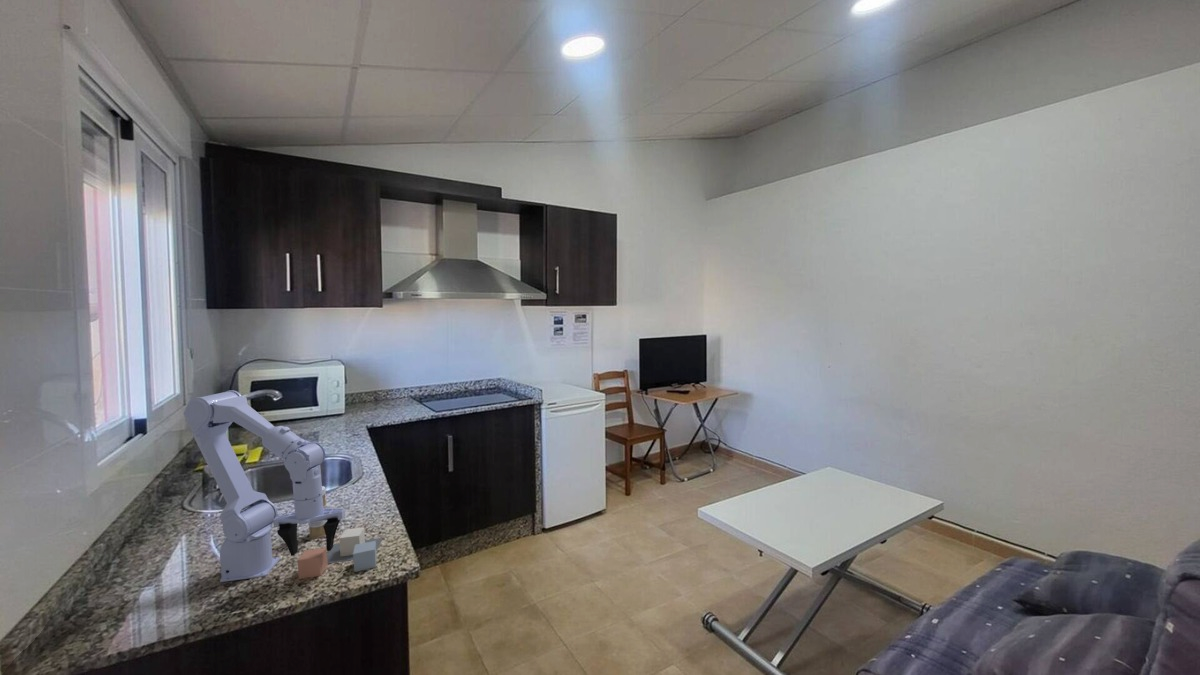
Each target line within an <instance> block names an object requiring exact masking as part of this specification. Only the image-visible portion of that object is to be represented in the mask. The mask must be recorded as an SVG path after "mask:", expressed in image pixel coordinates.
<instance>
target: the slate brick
mask: <svg viewBox="0 0 1200 675" xmlns="http://www.w3.org/2000/svg"><path fill="white" fill-rule="evenodd" d="M377 556H378V555H377V551H376V541H372V542H367V543H362V544H357V545H355V547H354V552H353V560H352V561H353V572H359V571H364V570H369V569H374V568H377V558H378V557H377Z"/></svg>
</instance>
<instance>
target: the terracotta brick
mask: <svg viewBox="0 0 1200 675" xmlns="http://www.w3.org/2000/svg"><path fill="white" fill-rule="evenodd" d="M327 554H328V551H327V547H323V548H322V547H321V548H314V549H306V550H304V551H303V553H302V554H301V555H300V556H299V558H298V559H297V570H298V571H297V572H298V574H297V575H298V579H299V580H300V579H307V578H313V577H314V578H315V577H322V574H323V573H324V571H325V570H326V568H327V567H328V564H327Z"/></svg>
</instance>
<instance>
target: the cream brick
mask: <svg viewBox="0 0 1200 675" xmlns="http://www.w3.org/2000/svg"><path fill="white" fill-rule="evenodd" d="M338 539H339V543H340V556H348V555H353V552H354V547H355V545H357V544H362V543H365V540H366V535H365V527H357V528H355V527H354V528H348V529H347V528H346V529H344V530H343V531H342V534H341V535H340V536H339V538H338Z"/></svg>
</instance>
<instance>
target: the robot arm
mask: <svg viewBox="0 0 1200 675" xmlns="http://www.w3.org/2000/svg"><path fill="white" fill-rule="evenodd" d="M183 416H184V418H185V420H186V422H187V424H188V426H189V428H190V430H191V432H192V435H193V438H194V441H195V442H196V444H197V446H198V449H199V451H200V453H201V454H202V457H203V458H204V461H205V462H206V464H207V468H209V471H210V472H211V475H212V476H213V479H214V480H215V482H216V485H217V487H218V489H219V491H220V492H221V494H222V496H223V498H224V500H225V502H226V505H225V506H224V508H223V510H222V511H221V513H220V515H219V518H220V521H221V524H222V531H223V535H224V536H225V539H224V541H223V542H222V544H221V546H220V550H219V560H220V562H219V563H220V572H221V574H220V575H221V579H219V582H220V583H225V582H233V581H241V580H247V579H253V578H254V579H255V578H262V577H266V576H267V575H268V574H269V573H270V572H271V570H272V569H274V567H275V566H276V564H277V563H278V562H279V561H280V560H281V557H279V556H278V557H277V556H276V557H273V548H272V545H273V544H272V534H271V529H273V528H278V530H277V535H278V536H279V537H280V538H281V539H282V540H283V542H284V543H285V545H286V547H287V548H288V550H289V553H290V556H291V557H294V556H295V555H296V554H297V553H298V552H299V544H298V543H299V542H298V524H299V525H306V524H309V522H315V521H323V520H327V522H326V523H325V524H324V525H323V527H324V530H325V543H326V546H325V548H326V549H327V552H329V551H331V549H332V548H333V545H334V544H335V543H334V541H335V537H336V532H337V530H338V527H339V525H340V522H341V521H342V520H343V519H345V517H346V513H345V512H346V511H345V508H344V507H343V508H327V507H326V508H323V496H322V486H323V485H322V484H323V483H322V470H321V464H322V463H324V461H325V459H326V450H325V448H324V446H322V445H321V444H320V443H319V442H317V441H309V440H306V439H304V438H302V437H300V436H299V435H298V434H296V433H295V432H293V431H291V428H290V427H288V425H287V426H284V425H278V426H274V424H273V423H271V422H270V421H268V420H267V419H266V418H265V417H264V416H262V415H261V414H260V413H259V412H257V411H256V410H255V409H254V408H253V407H251V406H250V405H249V404H248V398H247V397H246V396H243V395H242V394H241V393H240V392H239V391H237V390H226V391H223V392H220V393H215V394H209V395H205V396H204V395H203V396H195V397H193V398H191V399H190V400H188V402H187V404H186V407H185V409H184V411H183ZM232 423H235V424H236V425H238V426H240V427H242V428H244V429H245V430H246V431H247V430H248V431H249V432H250V433H253V435H256V436H258V437H259V438H260V439H261V442H262V443H261V444H262V447H264V448H266V449H267V450H268V451H270V452H271V453H273V454H274V455H276V456H277V457H278V458H280V459H281V460H283V461H284V462H283V465H284V468H285V469H286V471H288V474H289V478H290V480H291V482H292V490H293V492H292V493H293V504H294V505H293V506H294V512H292V513H285V514H281V515H278V508H277V506H276V505H275V504H274V503H273V502H272V501H270V500H269V497H268V496H267V495H266V493H265V492H259V491H256V490H254V489H253V487H252V484H251V482H250V481H249V478H248V477H247V474H246V472H245V470H244V469H243V468H244V467H243V466H242V465H241V462H240V460H239V459H238V455H236V451H235V450H234V448H233V446H232V444H231V442H230V441H229V439H228V437H227V434H226V433H227V430H228V428H229V427H230V426H231V425H233V424H232ZM246 507H247V508H246ZM244 508H245V509H244Z"/></svg>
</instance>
